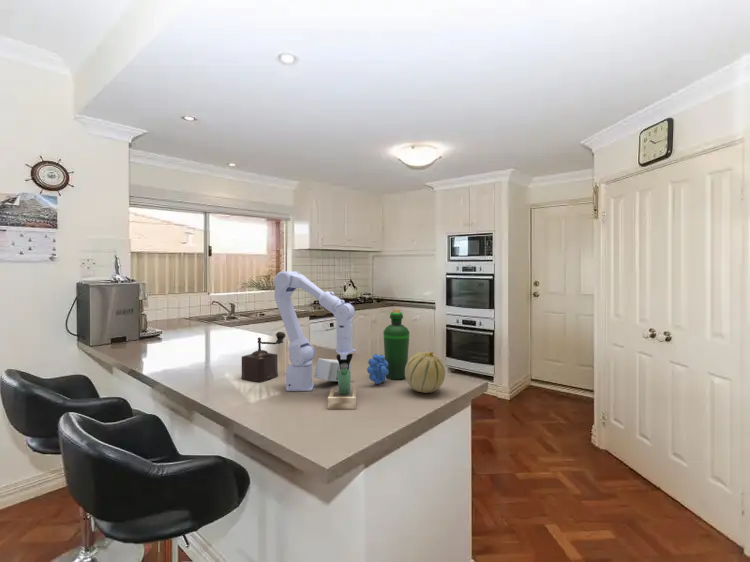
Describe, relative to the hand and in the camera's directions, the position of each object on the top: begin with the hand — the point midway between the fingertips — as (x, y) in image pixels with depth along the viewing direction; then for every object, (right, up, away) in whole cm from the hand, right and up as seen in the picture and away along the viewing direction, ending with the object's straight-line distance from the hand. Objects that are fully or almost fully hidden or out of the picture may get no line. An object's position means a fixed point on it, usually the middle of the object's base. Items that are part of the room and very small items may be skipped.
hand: (344, 374), depth 146 cm
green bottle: (0, -6, 0) cm, 6 cm away
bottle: (+20, -6, +20) cm, 29 cm away
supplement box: (-1, -2, +17) cm, 17 cm away
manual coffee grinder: (-34, -6, +21) cm, 41 cm away
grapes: (+13, -6, +10) cm, 17 cm away
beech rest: (0, -7, -9) cm, 11 cm away
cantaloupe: (+29, -7, +1) cm, 30 cm away
